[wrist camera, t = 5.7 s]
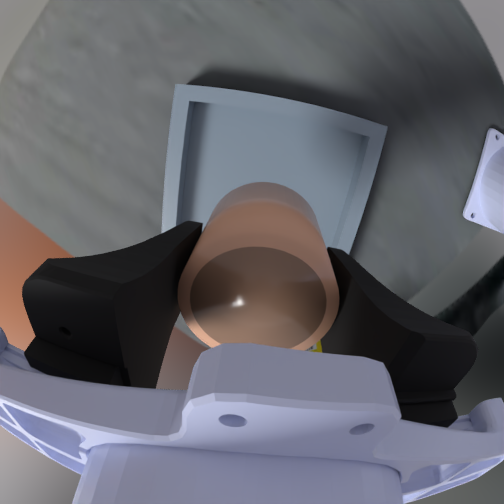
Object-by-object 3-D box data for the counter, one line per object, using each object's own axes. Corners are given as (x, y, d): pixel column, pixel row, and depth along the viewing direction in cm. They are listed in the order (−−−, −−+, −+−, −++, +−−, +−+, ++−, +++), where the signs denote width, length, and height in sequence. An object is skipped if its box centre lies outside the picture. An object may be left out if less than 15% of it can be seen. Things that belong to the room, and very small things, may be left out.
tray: (377, 123, 17) (387, 126, 16) (328, 283, 24) (331, 298, 22) (184, 85, 17) (175, 83, 15) (168, 254, 23) (160, 267, 22)
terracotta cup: (333, 197, 12) (364, 255, 8) (293, 312, 15) (297, 390, 11) (217, 171, 12) (184, 215, 8) (198, 292, 15) (173, 367, 11)
